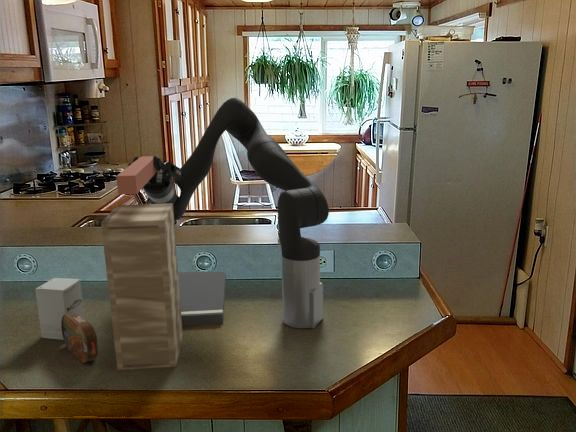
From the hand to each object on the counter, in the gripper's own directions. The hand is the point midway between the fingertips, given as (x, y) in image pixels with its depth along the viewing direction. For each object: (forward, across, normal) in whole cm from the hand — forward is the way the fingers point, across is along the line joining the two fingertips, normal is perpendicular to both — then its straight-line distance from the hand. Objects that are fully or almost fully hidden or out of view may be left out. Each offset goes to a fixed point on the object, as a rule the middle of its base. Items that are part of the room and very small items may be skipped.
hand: (145, 160), depth 118 cm
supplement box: (-20, -23, +36) cm, 47 cm away
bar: (+6, 0, +7) cm, 9 cm away
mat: (-33, +6, +28) cm, 44 cm away
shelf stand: (-10, 0, +42) cm, 43 cm away
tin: (-11, -16, +41) cm, 45 cm away
